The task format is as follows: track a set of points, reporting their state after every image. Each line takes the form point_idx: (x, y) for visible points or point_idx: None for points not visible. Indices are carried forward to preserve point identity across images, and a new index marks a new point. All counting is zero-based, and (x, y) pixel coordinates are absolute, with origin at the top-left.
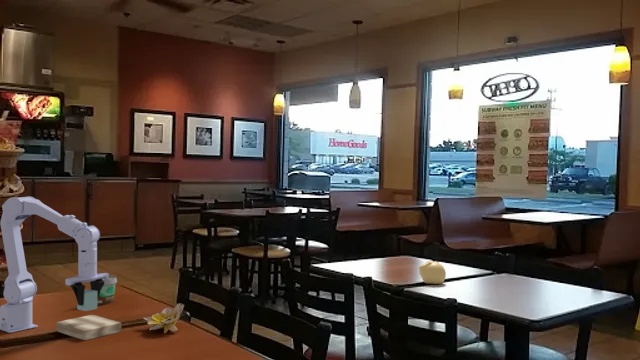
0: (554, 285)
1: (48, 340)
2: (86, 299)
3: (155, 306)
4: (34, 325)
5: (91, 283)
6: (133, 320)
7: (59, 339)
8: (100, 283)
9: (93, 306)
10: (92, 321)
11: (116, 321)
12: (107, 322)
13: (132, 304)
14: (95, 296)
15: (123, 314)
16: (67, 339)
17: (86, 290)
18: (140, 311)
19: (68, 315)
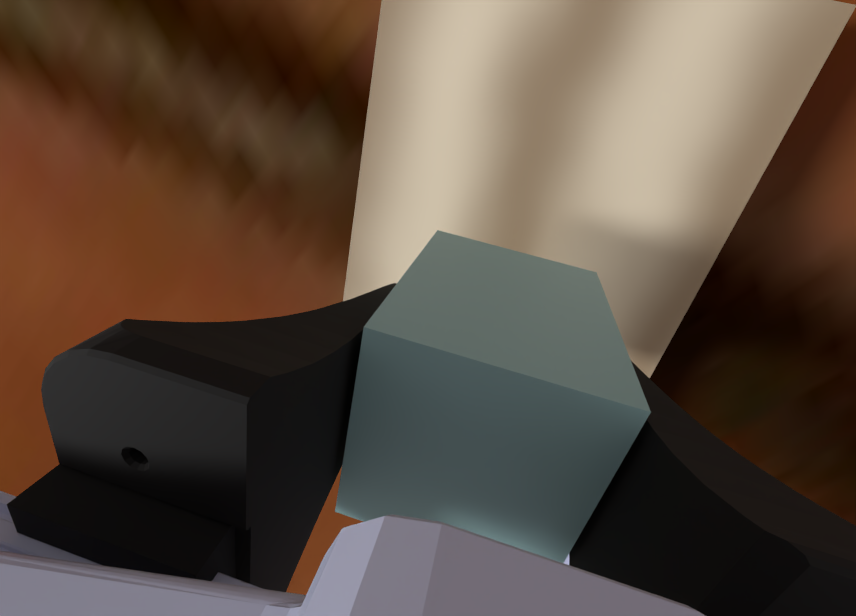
0: None
1: (844, 316)
2: (593, 331)
3: None
4: (568, 561)
5: (279, 581)
6: (159, 144)
7: (798, 262)
8: (224, 361)
9: (484, 253)
10: (485, 232)
11: (385, 13)
12: (455, 70)
13: (9, 396)
14: (428, 295)
15: (131, 310)
16: (786, 204)
17: (443, 501)
18: (31, 266)
19: (318, 532)
